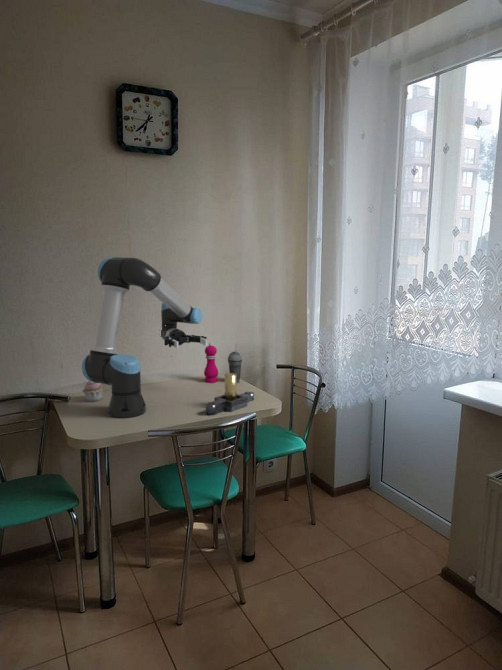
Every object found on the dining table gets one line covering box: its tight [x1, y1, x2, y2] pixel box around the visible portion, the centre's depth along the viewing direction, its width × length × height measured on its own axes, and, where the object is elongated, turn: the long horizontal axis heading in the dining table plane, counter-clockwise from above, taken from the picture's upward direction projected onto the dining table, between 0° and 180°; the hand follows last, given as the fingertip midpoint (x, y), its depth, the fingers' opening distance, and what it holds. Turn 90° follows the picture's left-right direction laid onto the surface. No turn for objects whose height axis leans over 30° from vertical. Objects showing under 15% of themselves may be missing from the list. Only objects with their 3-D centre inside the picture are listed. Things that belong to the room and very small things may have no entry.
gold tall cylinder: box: [224, 372, 238, 401], centre depth 208 cm, size 5×5×14 cm
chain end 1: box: [205, 393, 248, 416], centre depth 205 cm, size 19×10×4 cm, turn 139°
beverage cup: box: [227, 342, 243, 384], centre depth 244 cm, size 7×7×20 cm
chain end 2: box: [226, 391, 255, 412], centre depth 212 cm, size 19×10×3 cm, turn 139°
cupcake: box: [82, 380, 105, 403], centre depth 217 cm, size 9×9×10 cm
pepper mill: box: [203, 342, 219, 384], centre depth 245 cm, size 7×7×20 cm
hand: (192, 343), depth 215 cm, fingers open, 13 cm apart
